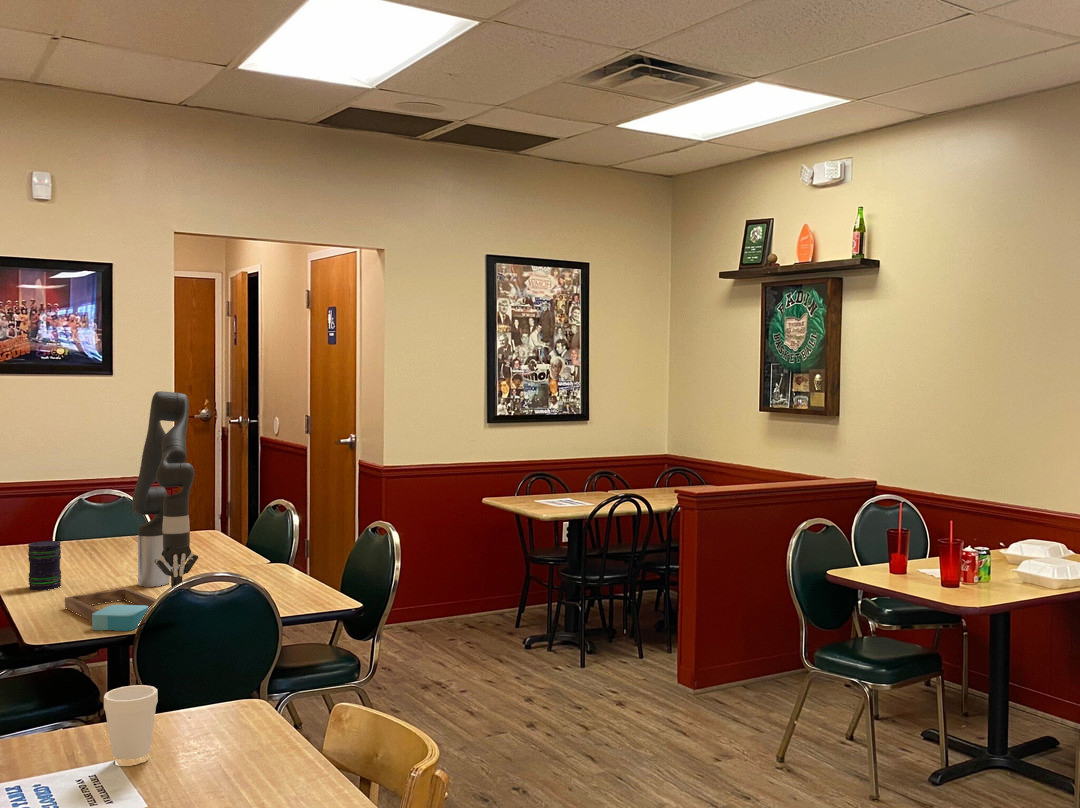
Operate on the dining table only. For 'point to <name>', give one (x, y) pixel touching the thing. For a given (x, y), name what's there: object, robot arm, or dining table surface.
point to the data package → (118, 617)
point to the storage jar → (44, 565)
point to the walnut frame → (104, 600)
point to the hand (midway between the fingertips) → (176, 588)
